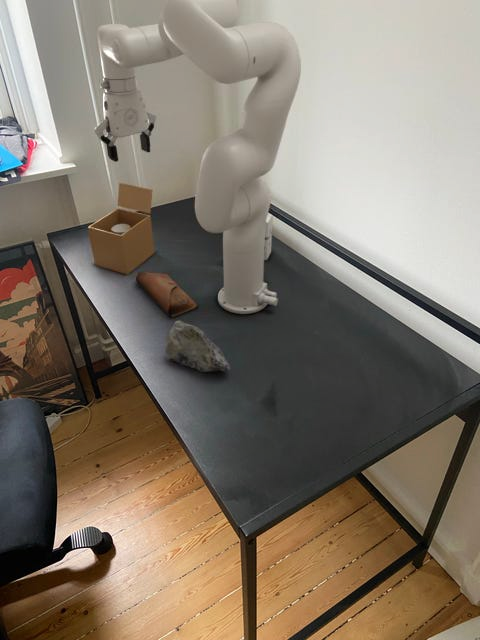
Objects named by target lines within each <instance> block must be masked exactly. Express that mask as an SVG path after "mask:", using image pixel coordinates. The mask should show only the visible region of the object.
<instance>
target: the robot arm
mask: <svg viewBox="0 0 480 640" xmlns="http://www.w3.org/2000/svg"><path fill="white" fill-rule="evenodd" d="M239 17H240V9H239V6H238V3H237V0H165V2H164V5H163V8H162V11H161V13H160V15H159V17H158V23H154V24H146V25H141V26H134V27H129V26H128V25H126V24H123V23H108V24H103V25H100V26H99V27H98V29H97V31H96V32H97V33H96V37H97V43H98V49H99V57H100V62H101V63H100V64H101V68H102V76H103V78H102V80H103V81H102V82H100V83H99V87H100V89H101V90H103V89H104V90H105V91H103V94H102V95H103V96H102V98H103V99H102V109H103V111H102V112H103V120H102V121H101V122H100V123H99V124H98V125H97V126H95V128H94V129H93V132H94V133H95V135H96V136H97V137H98V139H99V140H100V141H101V142H102V143H104V144H105V145H106V152H107V156H108V158H109V160H111V161H113V162H115V163H117V162H118V161H119V155H118V148H117V145H115V143H116V141H117V140H118V138H126V137H129V136H133V135H138V134H139V141H140V148H141V149H140V150H141V151H143V152H146V153H149V154H150V153H151V138H150V137H151V136H152V132H153V130H154V128H155V124H156V120H157V116H156V115H155V114H152V113H149V112H147V107H146V102H145V99H144V94H143V91H142V89H141V88H140V87H138V82H137V71H136V68H138V67H143V66H146V65H151V64H157V63H162V62H165V61H169V60H172V59H174V58H175V59H176V58H177V57H181V56H183V55H184V56H185V57H186V58H188V59H189V60H190V61H191V62H192V63H193V64H195V65H196V67H198V68H199V69H200V70H201V71H202V72H204V73H205V74H206V75H207V76H208V77H209V78H211V80H214V81H215V82H217V83H219V84H224V85H230V84H231V85H232V84H236V83H241V82H243V81H247V80H251V79H255V78H257V80H256V82H255V83H254V86H253V87H252V89H251V90H250V92H249V94H248V95H247V98H246V99H245V102H244V104H243V108H242V112H241V117H240V121H239V125H238V126H237V128H236V130H235V131H234V132H232V133H231V134H228V135H225V136H223V137H220V138H218V139H216V140H214V141H212V142H211V143H210V144H209V145H208V146H207V148H206V149H205V151H204V153H203V155H202V158H201V162H200V168H199V173H198V179H197V185H196V191H195V197H194V213H195V217H196V220H197V222H198V224H199V225H200V227H201V228H202V229H203V230H204V231H206V232H208V233H210V234H222V260H223V261H222V264H223V269H222V270H223V287H222V288H221V289H220V290H219V291H218V294H217V301H218V304H219V306H220V307H221V308H222V309H224V310H225V311H227V312H230V313H233V314H239V315H248V314H254V313H258V312H260V311H261V310H263V309H265V308H266V306H268V305H270V306H273V307H276V306H277V305H278V302H279V299H278V292H275V291H270V290H269V289H268V283H266V282H265V281H264V273H265V272H264V271H265V260H264V245H265V227H266V220H267V215H268V214H269V210H270V206H271V196H272V195H271V189H270V186H269V184H268V182H267V180H266V179H265V178H264V177H263V176H265V175H267V174H268V173H269V172H271V170H272V169H273V168H274V165H275V162H276V160H277V156H278V153H279V149H280V146H281V142H282V139H283V135H284V132H285V128H286V126H287V120H288V117H289V113H290V111H291V109H292V105H293V102H294V99H295V97H296V94H297V92H298V91H297V90H298V89H299V83H300V80H301V74H302V73H301V72H302V61H301V60H302V59H301V54H300V49H299V46H298V43H297V41H296V39H295V37H294V36H293V34H292V33H291V32H290V31H289V29H287V27H285V26H284V25H282V24H281V23H280V24H279V23H277V22H273V21H259V22H253V23H247V24H243V25H237V24H238V21H239ZM104 131H106V135H105V134H104Z"/></svg>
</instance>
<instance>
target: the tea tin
mask: <svg viewBox="0 0 480 640" xmlns="http://www.w3.org/2000/svg"><path fill="white" fill-rule="evenodd" d="M129 229H131V227H130V226H129V225H127V224H118V225H115V226H113V227H112V229H111V230H112V233H115V234H119V235H122V234H123V233H125V232H126V231H128V230H129Z"/></svg>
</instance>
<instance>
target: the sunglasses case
mask: <svg viewBox="0 0 480 640" xmlns="http://www.w3.org/2000/svg"><path fill="white" fill-rule="evenodd" d="M135 281H136V283H137V284H138V285H139V286H140V287H141V288H142V289H143V290H144V291H145V292H146V293H147V294H148V295H149V296H150V297H151V299H153V300H154V301H155V303H157V305H158V306H159V307H160V308H161V309H162V311H164V312H165V313H166V314H167V315H168V316H170V317H172V318H174V317H177V316H180V315H183V314H186V313H187V312H190V311H192V310H194V309H196V308H197V306H198V305H197V303H196V302H195V301H194V300H193V299H192V298H191V296H189V295H188V294H187V293H186V291H184V289H182V287H180V286H179V285H178V284H177V282H175V281H174V280H173V278H172V277H170V275H168V273H155V272H154V273H152V272H146V271H138V272H137V274H136V276H135Z"/></svg>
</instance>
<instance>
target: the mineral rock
mask: <svg viewBox="0 0 480 640" xmlns="http://www.w3.org/2000/svg"><path fill="white" fill-rule="evenodd" d="M165 357H166V360H167V361H168V362H176V363H178V364H180V365H181V366H188V367H190V368H192V369H196V370H198V371H199V372H201V373H207V372H229V371H230V370H231V369H232V368H231V366H230V364H229V362H228V360H227V358H225V355H224V353H223V351H221V349H220V348H219V347H218V345H216V344H215V343H214V342H213V341H211V340H210V339H209V338H208V337H207V336H206V334H205V332H204V331H203V330H202V329H200V328H199V327H198V326H195V325H194V324H190V323H187V322H186V323H185V322H184V321H182V320H176V321H174V323H173V325H172V327H171V329H170V331H169V333H168V336H167V340H166V346H165Z"/></svg>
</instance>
